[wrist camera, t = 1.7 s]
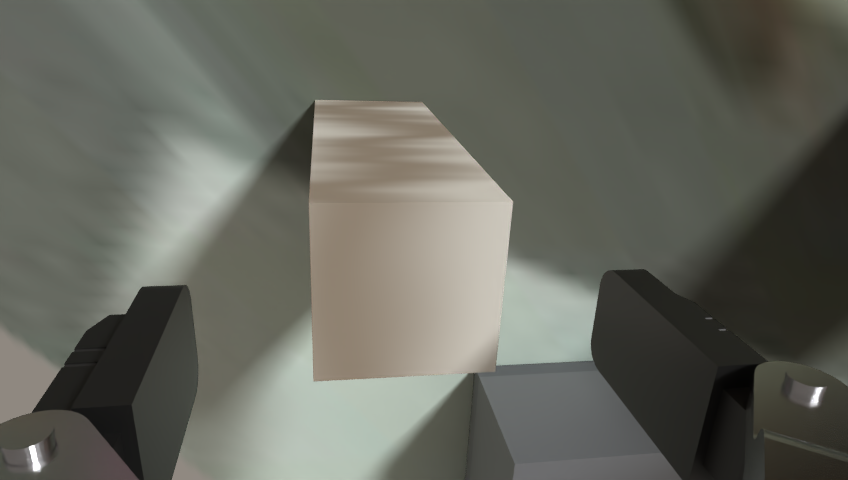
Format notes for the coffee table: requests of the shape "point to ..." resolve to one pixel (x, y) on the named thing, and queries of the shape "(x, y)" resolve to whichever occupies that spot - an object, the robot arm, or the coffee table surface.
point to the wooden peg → (401, 246)
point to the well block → (556, 428)
